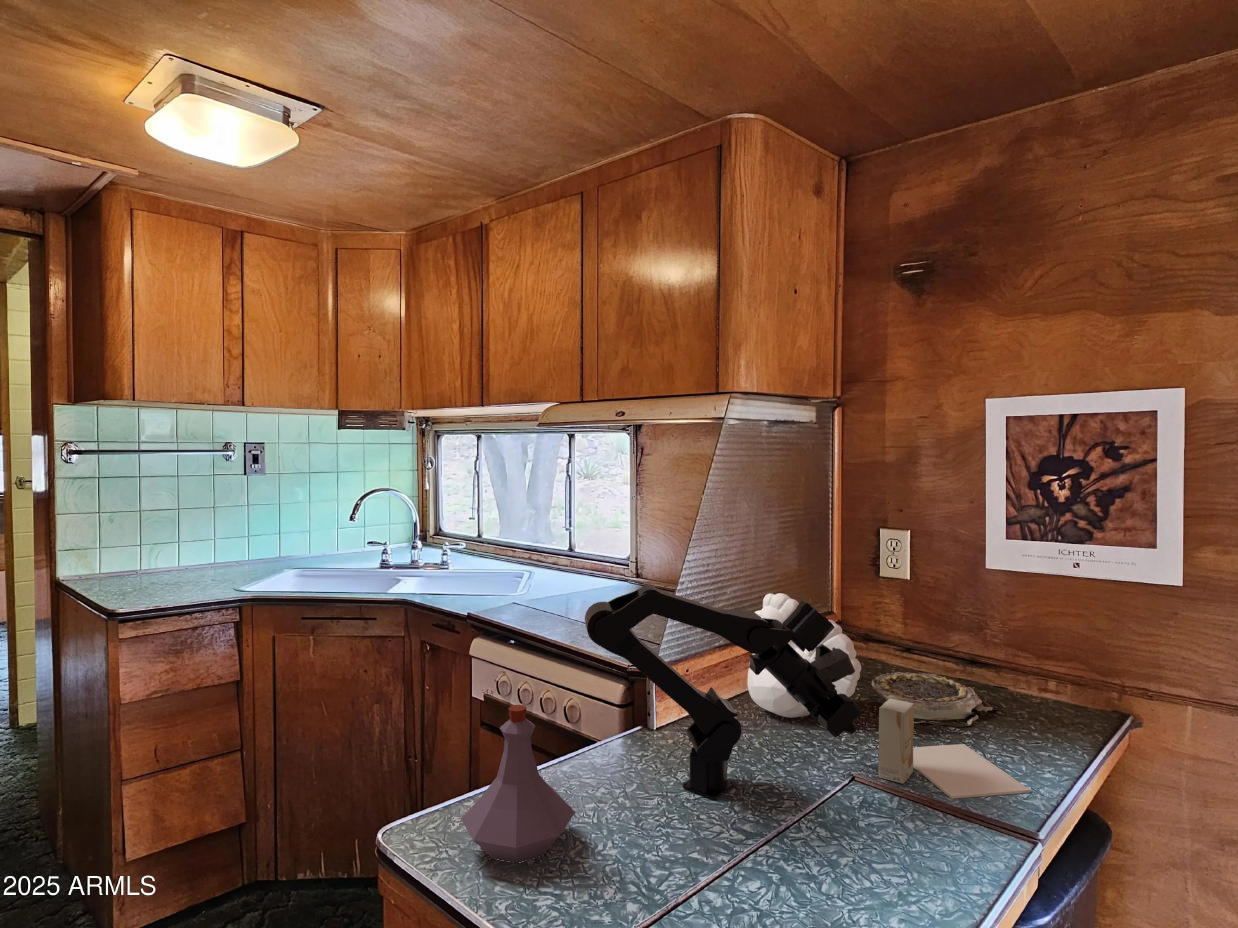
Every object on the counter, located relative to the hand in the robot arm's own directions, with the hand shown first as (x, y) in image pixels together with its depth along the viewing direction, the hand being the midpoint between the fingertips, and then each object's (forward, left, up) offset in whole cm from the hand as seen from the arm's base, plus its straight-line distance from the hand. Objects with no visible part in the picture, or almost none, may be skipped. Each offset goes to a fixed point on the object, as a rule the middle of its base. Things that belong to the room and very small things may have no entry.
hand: (853, 730), depth 123 cm
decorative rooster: (+19, +20, -8) cm, 29 cm away
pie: (+44, +3, -9) cm, 45 cm away
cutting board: (+14, -13, -8) cm, 21 cm away
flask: (-51, +28, -8) cm, 59 cm away
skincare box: (+6, -5, -8) cm, 11 cm away
